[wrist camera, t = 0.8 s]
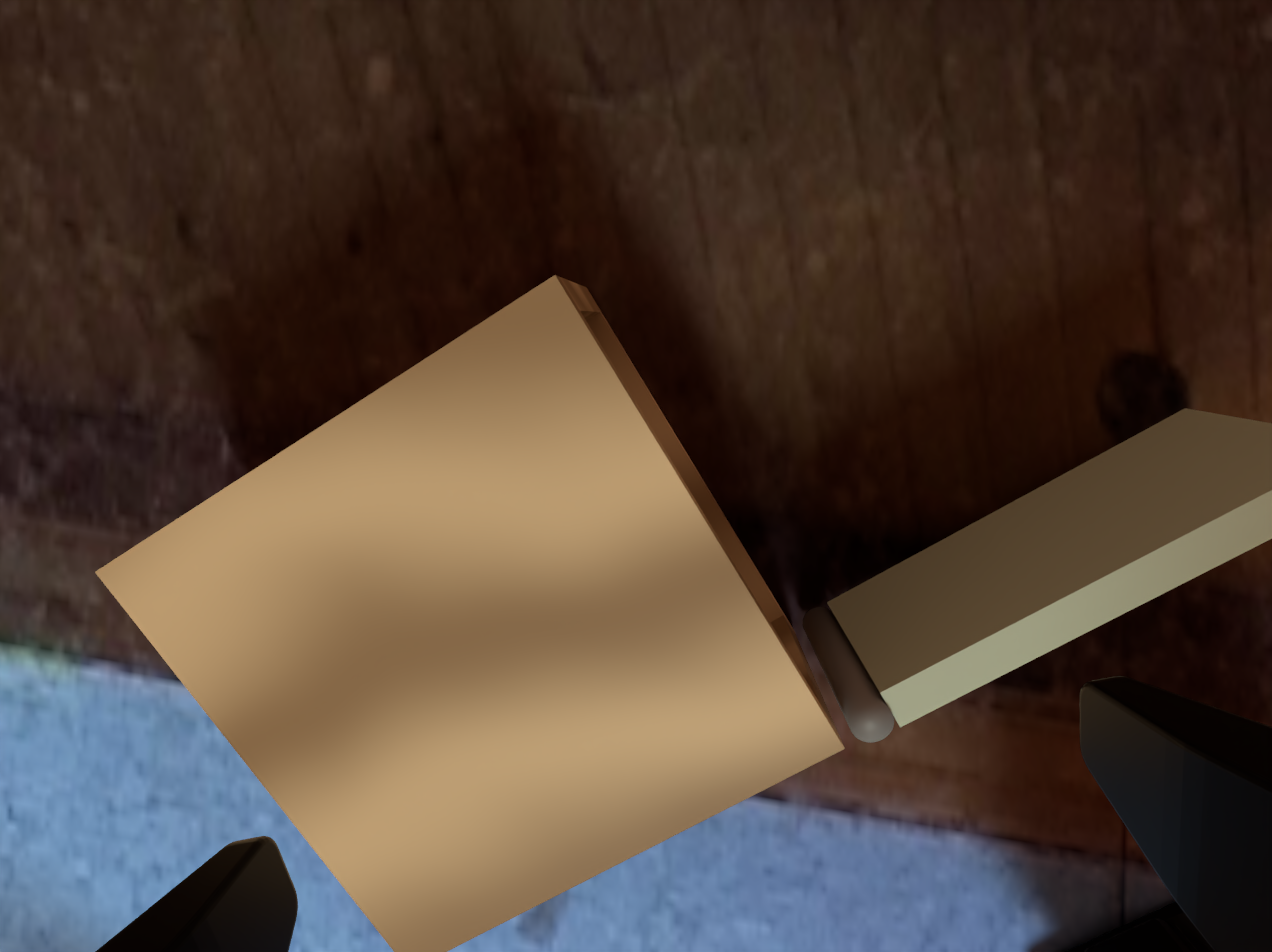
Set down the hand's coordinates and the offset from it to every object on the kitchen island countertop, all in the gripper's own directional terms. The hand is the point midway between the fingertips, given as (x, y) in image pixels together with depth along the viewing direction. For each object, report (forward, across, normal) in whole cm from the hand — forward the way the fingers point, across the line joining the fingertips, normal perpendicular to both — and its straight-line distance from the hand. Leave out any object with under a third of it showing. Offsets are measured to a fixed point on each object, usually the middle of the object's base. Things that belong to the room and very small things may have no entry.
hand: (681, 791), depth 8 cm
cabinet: (+14, +4, +3) cm, 15 cm away
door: (+13, -10, +4) cm, 17 cm away
